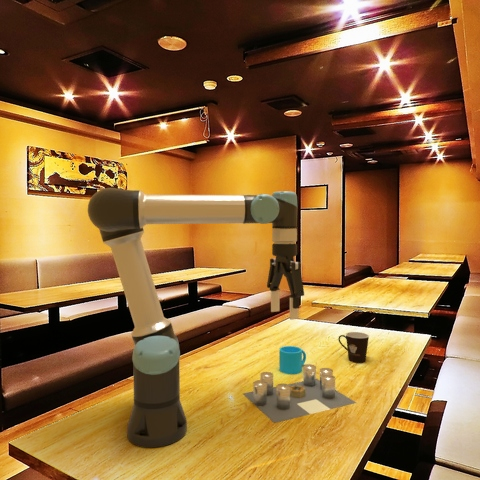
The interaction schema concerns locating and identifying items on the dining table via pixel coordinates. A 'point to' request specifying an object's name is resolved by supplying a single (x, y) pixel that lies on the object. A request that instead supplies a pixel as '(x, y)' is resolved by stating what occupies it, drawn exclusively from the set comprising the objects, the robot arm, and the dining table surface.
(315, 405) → the mat
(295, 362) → the mug
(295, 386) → the nut
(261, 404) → the spacers
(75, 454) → the dining table surface
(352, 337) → the coffee mug
